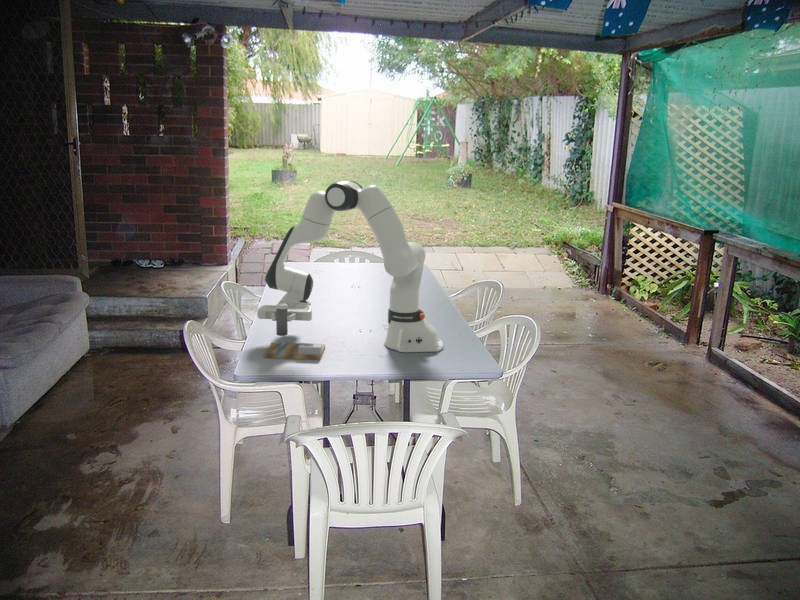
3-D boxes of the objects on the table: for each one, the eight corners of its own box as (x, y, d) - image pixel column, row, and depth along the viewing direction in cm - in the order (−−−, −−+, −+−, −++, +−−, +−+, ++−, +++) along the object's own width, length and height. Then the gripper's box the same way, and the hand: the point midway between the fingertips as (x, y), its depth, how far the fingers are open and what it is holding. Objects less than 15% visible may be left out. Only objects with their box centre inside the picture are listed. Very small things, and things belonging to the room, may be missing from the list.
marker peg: (288, 332, 252) (288, 303, 249) (286, 336, 248) (286, 307, 245) (277, 332, 252) (277, 303, 249) (275, 335, 248) (274, 306, 245)
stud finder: (322, 351, 248) (322, 343, 247) (320, 355, 244) (320, 347, 243) (300, 350, 248) (300, 342, 247) (298, 354, 244) (298, 346, 243)
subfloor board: (325, 348, 256) (325, 344, 255) (320, 359, 243) (320, 355, 243) (272, 346, 256) (271, 342, 256) (264, 357, 244) (264, 353, 243)
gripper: (261, 299, 261) (252, 309, 247) (314, 302, 260) (309, 311, 247) (261, 315, 262) (253, 326, 249) (314, 317, 262) (309, 328, 248)
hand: (281, 319), depth 248 cm, fingers closed on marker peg, 4 cm apart
